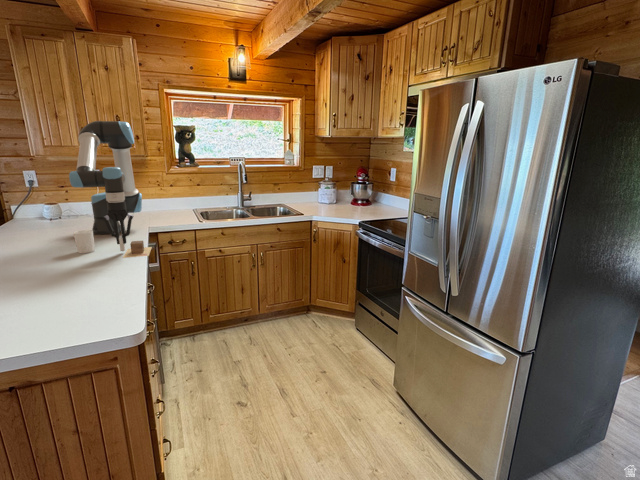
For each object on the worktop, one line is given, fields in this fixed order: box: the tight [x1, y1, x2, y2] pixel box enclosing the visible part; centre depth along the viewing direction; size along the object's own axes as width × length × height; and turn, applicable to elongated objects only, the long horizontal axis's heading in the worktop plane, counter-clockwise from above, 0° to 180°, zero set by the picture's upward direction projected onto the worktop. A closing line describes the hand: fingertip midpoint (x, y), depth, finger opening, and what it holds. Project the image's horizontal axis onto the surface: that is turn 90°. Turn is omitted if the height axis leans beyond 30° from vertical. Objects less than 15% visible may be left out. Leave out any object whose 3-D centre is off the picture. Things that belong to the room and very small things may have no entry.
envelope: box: [122, 246, 153, 259], centre depth 175 cm, size 16×11×1 cm
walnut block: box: [129, 240, 145, 254], centre depth 175 cm, size 5×5×5 cm
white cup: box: [73, 229, 95, 254], centre depth 176 cm, size 8×8×10 cm
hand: (122, 250), depth 173 cm, fingers closed
